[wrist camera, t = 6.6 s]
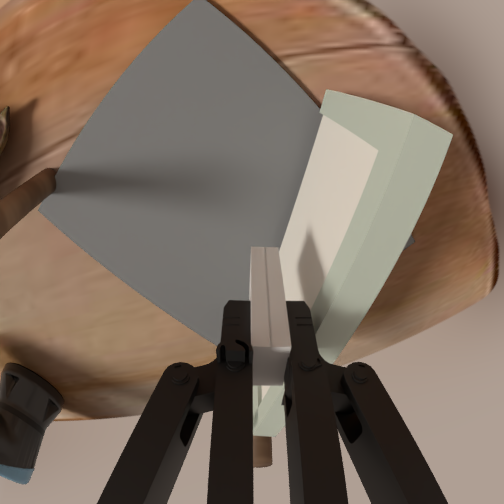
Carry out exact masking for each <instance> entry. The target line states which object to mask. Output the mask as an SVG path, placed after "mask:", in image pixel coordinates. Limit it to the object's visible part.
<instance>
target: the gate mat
mask: <svg viewBox="0 0 504 504" xmlns="http://www.w3.org/2000/svg"><path fill="white" fill-rule="evenodd" d="M319 112H320V108H319V107H318V106H317V105H316V104H315V103H314V102H313V101H312V99H311V98H310V97H309V96H308V95H307V94H306V93H305V92H304V91H303V89H302V88H301V87H300V86H299V85H298V84H297V83H296V82H295V81H294V80H293V79H292V78H291V77H290V76H289V75H288V74H287V73H286V72H285V71H284V70H283V68H282V67H281V66H280V65H279V64H278V63H277V62H276V61H275V60H274V59H272V58H271V57H270V56H269V55H268V54H267V53H266V52H265V51H264V50H263V49H262V48H261V47H260V46H259V45H258V44H257V43H256V42H255V41H254V40H252V39H251V38H250V37H249V36H248V35H247V34H246V33H245V32H244V31H242V30H241V29H240V28H239V27H238V26H237V25H236V24H234V23H233V22H232V21H231V20H230V19H228V18H227V17H226V16H225V15H224V14H222V13H221V12H220V11H219V10H218V9H216V8H215V7H214V6H213V5H211V4H210V3H209V2H207V1H206V0H193V1H192V2H191V3H189V4H188V5H187V6H186V7H185V8H184V9H183V10H182V11H181V12H180V13H179V14H178V15H177V16H175V17H174V18H173V19H172V20H171V21H170V22H169V23H168V24H167V25H166V26H165V27H164V28H163V29H162V30H161V31H160V32H159V33H158V34H157V35H156V37H155V38H154V39H153V40H152V41H151V42H150V43H149V44H148V45H147V46H146V47H145V48H144V50H143V51H142V52H141V53H140V54H139V55H138V56H137V57H136V59H135V60H134V61H133V62H132V63H131V64H130V66H129V67H128V68H127V69H126V70H125V72H124V73H123V74H122V75H121V77H120V78H119V79H118V80H117V82H116V83H115V84H114V86H113V87H112V88H111V89H110V91H109V92H108V93H107V95H106V96H105V98H104V99H103V100H102V102H101V103H100V104H99V106H98V107H97V109H96V110H95V112H94V113H93V114H92V116H91V117H90V119H89V120H88V122H87V123H86V125H85V126H84V128H83V129H82V131H81V133H80V134H79V136H78V137H77V139H76V141H75V142H74V144H73V145H72V147H71V149H70V150H69V152H68V154H67V156H66V157H65V159H64V161H63V163H62V164H61V166H60V168H59V170H58V172H57V173H56V175H55V179H56V189H55V191H54V192H53V193H52V194H51V195H49V196H48V197H47V198H46V199H44V200H43V201H42V203H41V205H40V207H39V209H38V211H39V212H40V213H41V214H42V215H44V216H45V217H46V218H47V219H48V220H49V221H50V222H51V223H52V224H54V225H55V226H56V227H57V228H58V229H59V230H60V231H62V232H63V233H64V234H65V235H66V236H67V237H69V238H70V239H71V240H72V241H73V242H74V243H76V244H77V245H78V246H79V247H80V248H82V249H83V250H84V251H85V252H86V253H88V254H89V255H90V256H91V257H93V258H94V259H95V260H96V261H98V262H99V263H100V264H101V265H103V266H104V267H105V268H106V269H108V270H109V271H110V272H112V273H113V274H114V275H115V276H117V277H118V278H119V279H121V280H122V281H123V282H125V283H126V284H127V285H129V286H130V287H131V288H133V289H134V290H135V291H137V292H138V293H139V294H141V295H142V296H144V297H145V298H146V299H148V300H149V301H150V302H152V303H153V304H155V305H156V306H158V307H159V308H160V309H162V310H163V311H165V312H166V313H168V314H169V315H170V316H172V317H173V318H175V319H176V320H178V321H179V322H181V323H182V324H184V325H185V326H187V327H188V328H190V329H191V330H193V331H194V332H196V333H197V334H199V335H201V336H202V337H204V338H205V339H207V340H208V341H210V342H211V343H213V344H215V345H216V346H218V344H219V343H220V342H221V331H222V320H223V309H224V306H225V305H226V304H227V302H228V301H229V300H243V301H249V286H250V263H251V247H278V249H279V250H280V247H281V244H282V241H283V238H284V235H285V232H286V229H287V226H288V223H289V220H290V217H291V214H292V211H293V208H294V205H295V202H296V199H297V196H298V193H299V190H300V187H301V184H302V180H303V177H304V174H305V171H306V168H307V165H308V162H309V159H310V155H311V152H312V149H313V146H314V143H315V139H316V136H317V133H318V130H319V126H320V123H321V120H322V117H323V114H321V113H319ZM414 242H415V240H414V239H413V237H412V235H410V237H409V239H408V241H407V243H406V245H405V246H404V248H403V250H405V249H406V248H407V247H409V246H410V245H411V244H413V243H414ZM403 250H402V251H403Z"/></svg>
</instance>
